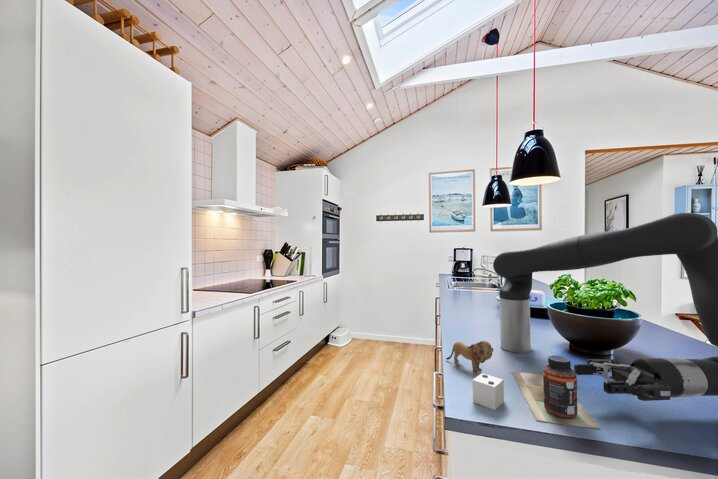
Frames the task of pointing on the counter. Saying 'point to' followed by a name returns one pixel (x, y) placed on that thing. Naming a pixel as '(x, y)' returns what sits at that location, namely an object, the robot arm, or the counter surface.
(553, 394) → the supplement bottle
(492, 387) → the die
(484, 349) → the lion figurine
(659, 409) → the counter surface
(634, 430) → the counter surface
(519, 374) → the game board
